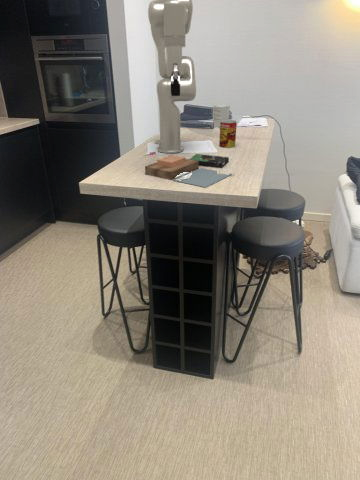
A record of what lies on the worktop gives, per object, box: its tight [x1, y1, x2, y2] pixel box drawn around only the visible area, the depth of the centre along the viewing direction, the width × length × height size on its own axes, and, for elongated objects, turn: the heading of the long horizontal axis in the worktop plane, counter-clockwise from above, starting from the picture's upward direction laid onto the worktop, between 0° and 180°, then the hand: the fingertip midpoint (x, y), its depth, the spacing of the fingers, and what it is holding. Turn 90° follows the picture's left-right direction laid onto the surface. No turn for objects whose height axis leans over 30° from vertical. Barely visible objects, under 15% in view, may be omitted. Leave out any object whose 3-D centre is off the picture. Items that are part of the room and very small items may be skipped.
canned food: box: [218, 119, 238, 149], centre depth 183 cm, size 8×8×12 cm
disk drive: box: [189, 153, 230, 169], centre depth 158 cm, size 10×3×15 cm
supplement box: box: [212, 104, 230, 129], centre depth 229 cm, size 7×7×13 cm
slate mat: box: [172, 167, 231, 189], centre depth 140 cm, size 14×19×1 cm
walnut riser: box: [144, 158, 200, 181], centre depth 147 cm, size 13×18×3 cm
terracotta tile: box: [156, 154, 186, 168], centre depth 146 cm, size 7×9×2 cm
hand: (175, 94), depth 139 cm, fingers open, 9 cm apart
